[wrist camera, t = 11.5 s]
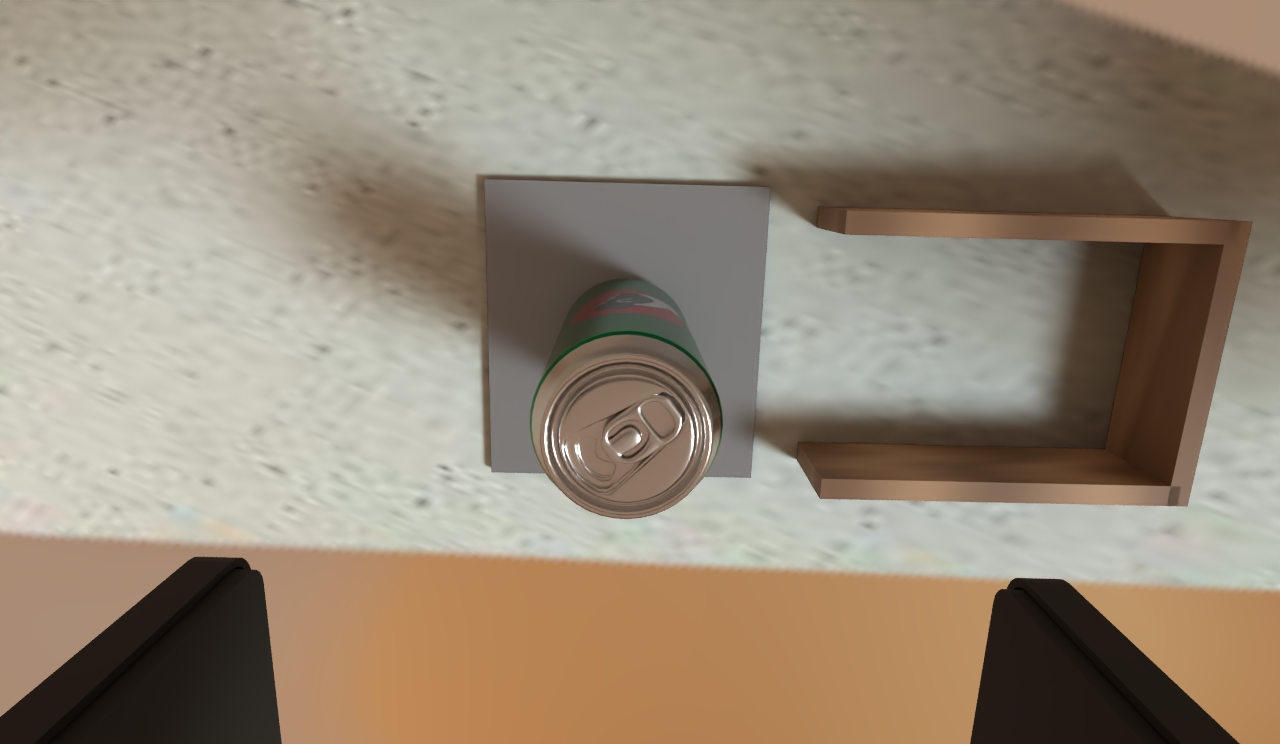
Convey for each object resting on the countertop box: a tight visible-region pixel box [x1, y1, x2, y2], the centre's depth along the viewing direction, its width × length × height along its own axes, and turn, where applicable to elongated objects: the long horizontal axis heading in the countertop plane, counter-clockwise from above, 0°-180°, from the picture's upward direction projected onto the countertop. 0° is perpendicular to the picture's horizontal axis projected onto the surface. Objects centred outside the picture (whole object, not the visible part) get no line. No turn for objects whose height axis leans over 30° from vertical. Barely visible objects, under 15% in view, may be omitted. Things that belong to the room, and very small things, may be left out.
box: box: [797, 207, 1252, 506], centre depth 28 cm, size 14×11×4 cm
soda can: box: [529, 278, 723, 519], centre depth 24 cm, size 5×5×12 cm
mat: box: [484, 179, 771, 478], centre depth 30 cm, size 11×12×1 cm
